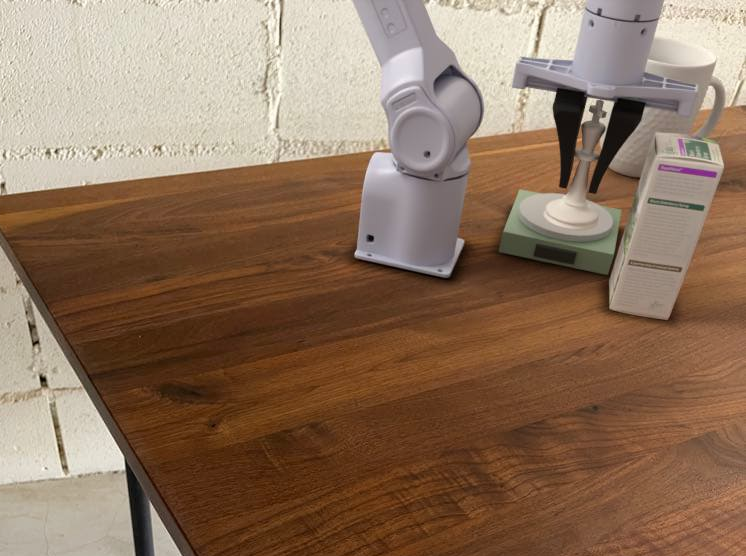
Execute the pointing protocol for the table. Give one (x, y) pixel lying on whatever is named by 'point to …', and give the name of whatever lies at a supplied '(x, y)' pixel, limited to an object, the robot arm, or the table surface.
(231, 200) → the table surface
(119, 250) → the table surface
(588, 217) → the chess piece
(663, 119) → the mug
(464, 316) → the table surface
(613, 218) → the scale
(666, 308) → the syrup box
